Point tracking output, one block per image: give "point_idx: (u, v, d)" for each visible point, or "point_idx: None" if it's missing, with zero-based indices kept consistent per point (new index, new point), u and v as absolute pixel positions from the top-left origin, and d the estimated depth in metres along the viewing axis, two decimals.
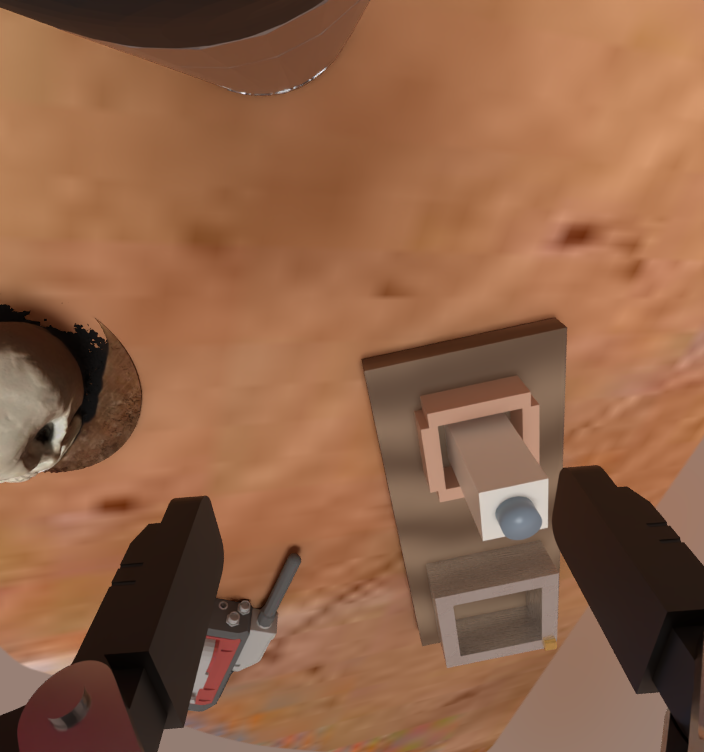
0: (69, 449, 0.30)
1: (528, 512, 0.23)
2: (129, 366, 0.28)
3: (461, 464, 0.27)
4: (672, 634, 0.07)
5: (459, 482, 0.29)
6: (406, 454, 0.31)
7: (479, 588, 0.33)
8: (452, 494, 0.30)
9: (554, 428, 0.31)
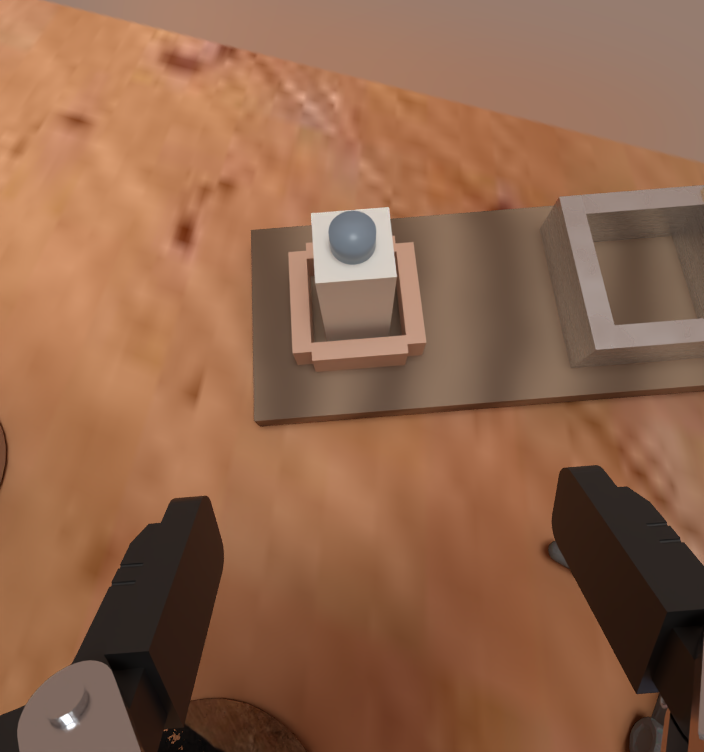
0: None
1: (332, 226, 0.20)
2: (208, 704, 0.23)
3: (338, 313, 0.23)
4: (673, 634, 0.07)
5: (385, 318, 0.24)
6: (374, 383, 0.26)
7: (581, 291, 0.24)
8: (414, 328, 0.25)
9: None
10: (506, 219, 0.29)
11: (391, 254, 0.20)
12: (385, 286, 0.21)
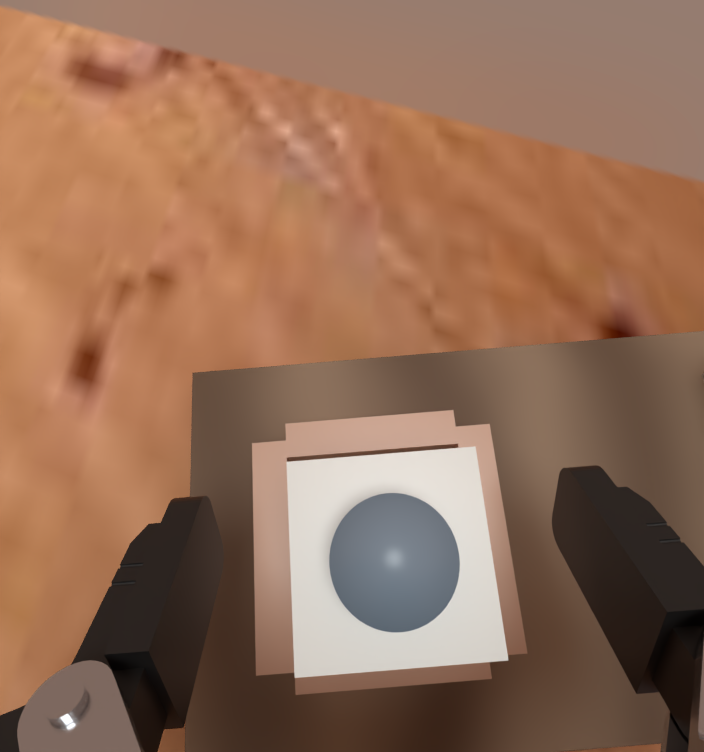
0: None
1: (339, 542, 0.07)
2: None
3: None
4: (672, 634, 0.07)
5: None
6: (416, 698, 0.14)
7: None
8: (502, 618, 0.12)
9: (397, 373, 0.16)
10: (640, 355, 0.16)
11: (489, 586, 0.08)
12: None
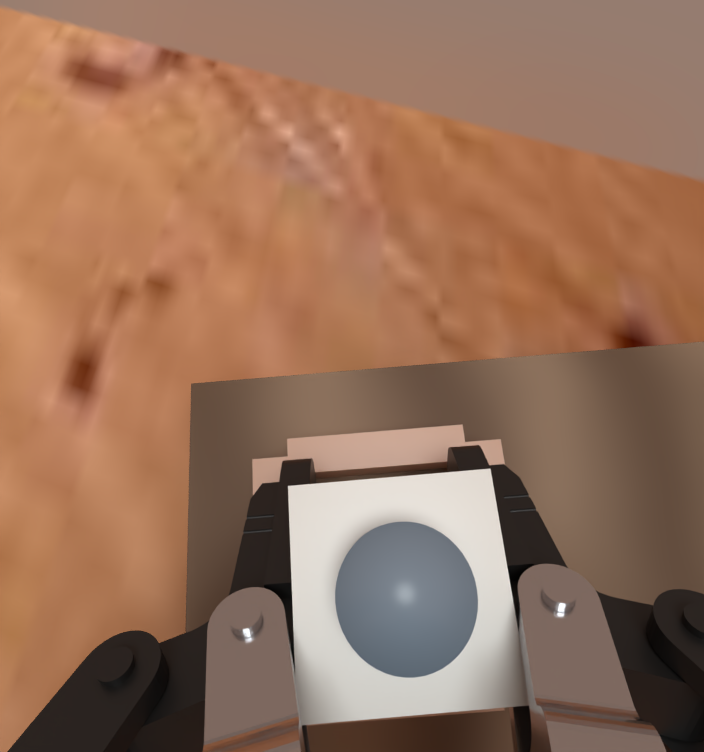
0: None
1: (345, 576, 0.07)
2: None
3: None
4: None
5: None
6: (424, 726, 0.13)
7: None
8: None
9: (403, 384, 0.16)
10: (656, 365, 0.16)
11: (508, 622, 0.07)
12: None
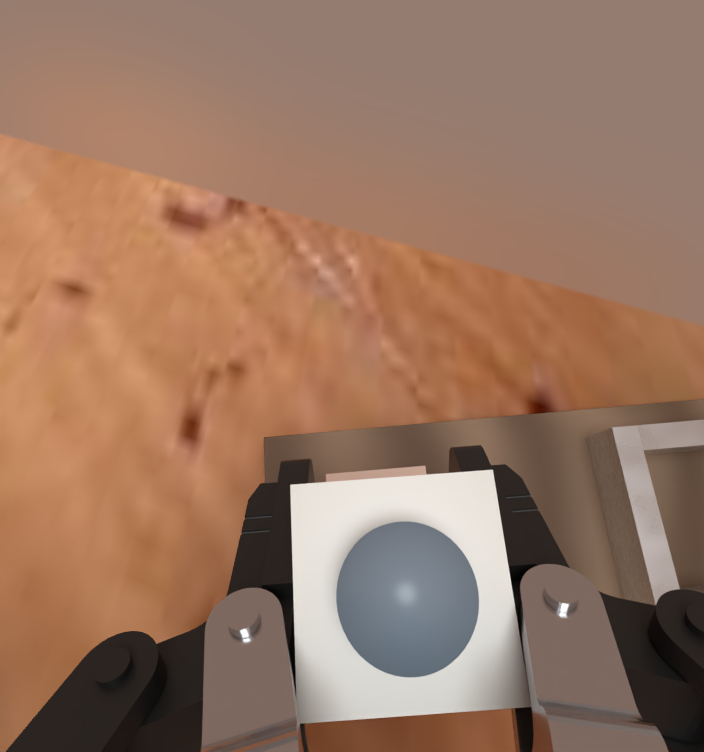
0: None
1: (347, 575, 0.07)
2: None
3: None
4: None
5: None
6: None
7: (641, 551, 0.21)
8: None
9: (393, 437, 0.26)
10: (547, 425, 0.26)
11: (509, 623, 0.07)
12: None
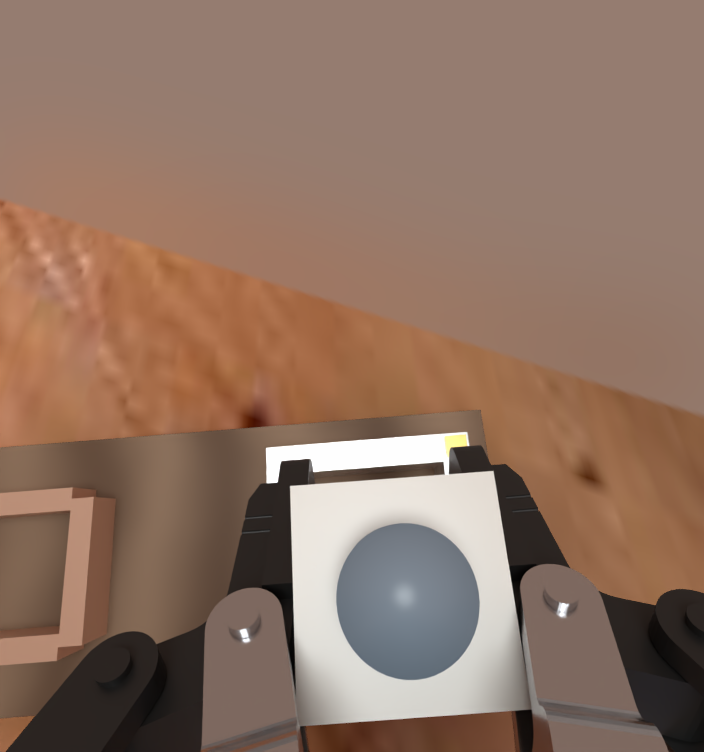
0: None
1: (346, 577, 0.07)
2: None
3: None
4: None
5: None
6: (41, 674, 0.21)
7: None
8: (71, 623, 0.20)
9: (73, 454, 0.24)
10: (240, 442, 0.24)
11: (510, 625, 0.07)
12: None
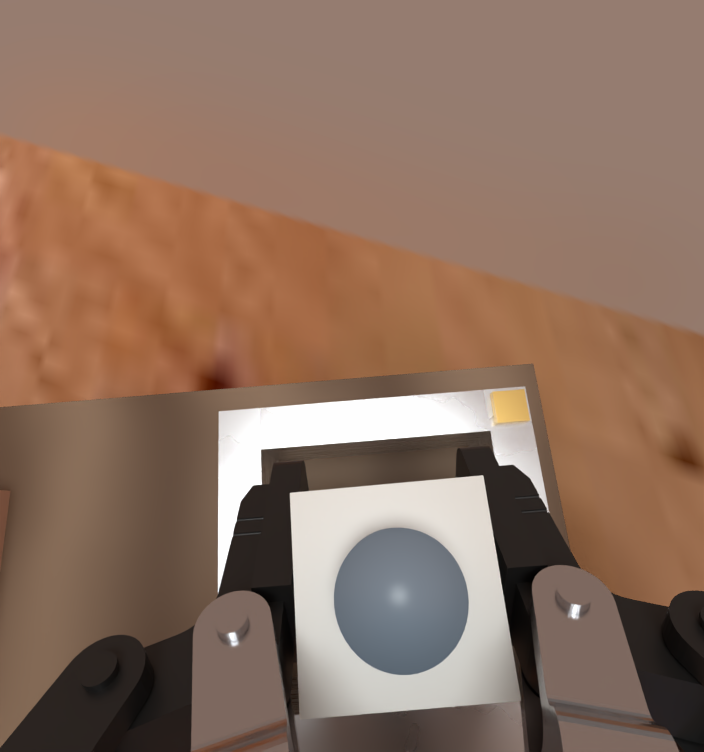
0: None
1: (343, 579, 0.07)
2: None
3: None
4: (517, 589, 0.08)
5: None
6: None
7: None
8: None
9: None
10: (191, 410, 0.17)
11: (500, 622, 0.08)
12: None
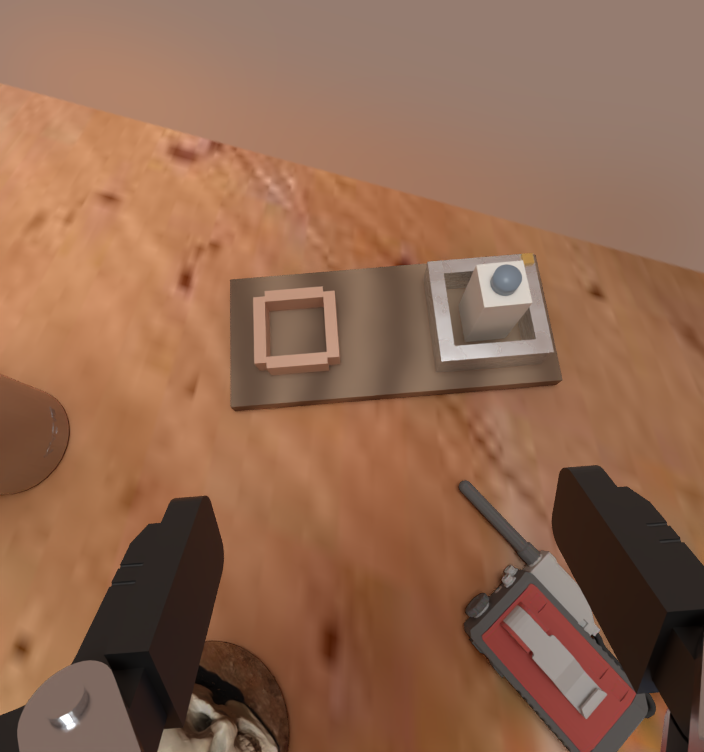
0: (267, 725, 0.34)
1: (495, 273, 0.34)
2: None
3: (485, 323, 0.37)
4: (672, 634, 0.07)
5: (511, 326, 0.38)
6: (308, 382, 0.40)
7: (436, 324, 0.38)
8: (332, 347, 0.39)
9: (308, 279, 0.43)
10: (401, 272, 0.43)
11: (527, 289, 0.34)
12: (522, 308, 0.35)
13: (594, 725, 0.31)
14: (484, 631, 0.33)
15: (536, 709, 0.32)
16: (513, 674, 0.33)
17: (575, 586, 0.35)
